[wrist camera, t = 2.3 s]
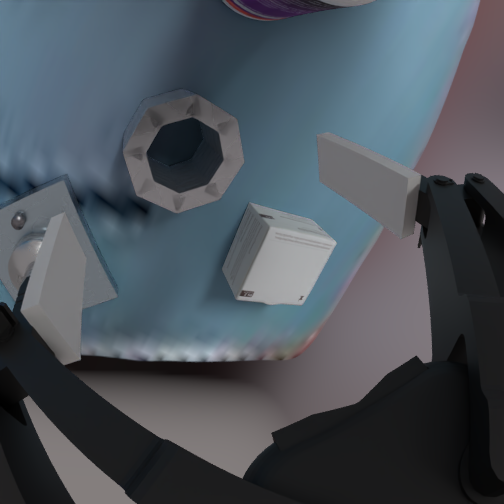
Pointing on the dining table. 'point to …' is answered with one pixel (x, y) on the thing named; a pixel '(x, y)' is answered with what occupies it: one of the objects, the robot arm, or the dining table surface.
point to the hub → (190, 171)
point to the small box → (276, 257)
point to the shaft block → (32, 233)
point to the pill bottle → (286, 7)
